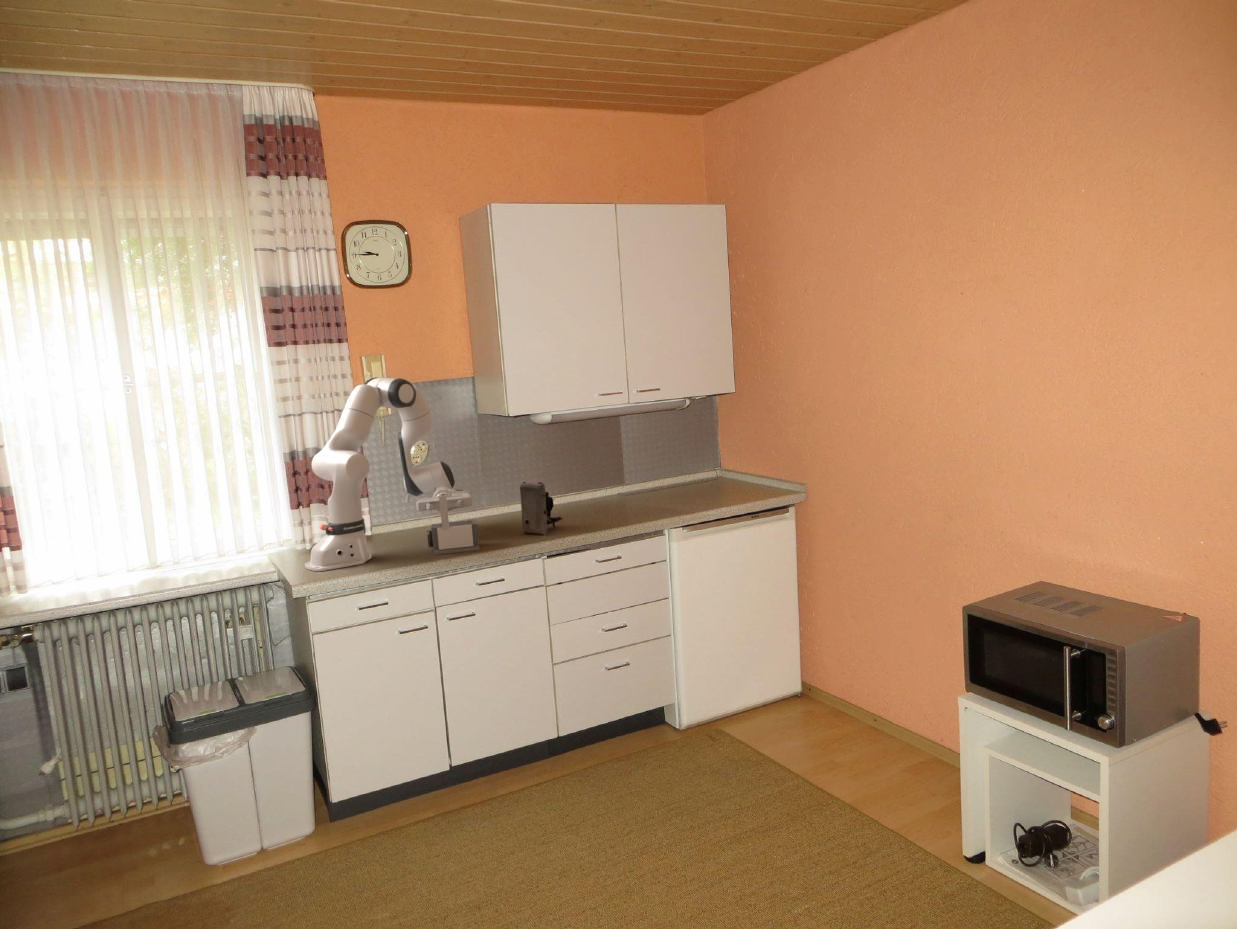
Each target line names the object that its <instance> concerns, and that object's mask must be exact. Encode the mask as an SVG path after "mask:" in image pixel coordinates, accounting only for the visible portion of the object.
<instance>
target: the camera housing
mask: <svg viewBox="0 0 1237 929" xmlns="http://www.w3.org/2000/svg"><path fill="white" fill-rule="evenodd" d="M462 525H472V535H473V546H469V547H460V548H450V549H441V550H439V544H438V533H437V528H442V523H431V528H430V529H431V530H427V531H426V533H427V542H428V543H427V544H428V548H433V551H432V552H433V555H434V556H435V555H443V554H444V555H445V554H452V553H453V554H454V553H460V552H461V553H462V552H471V551H480V541H479V540H480V539H479V529H478V520H477V519H471V518H466V519H464V520H460V521H449V527H452V526H462Z"/></svg>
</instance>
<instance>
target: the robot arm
mask: <svg viewBox="0 0 1237 929" xmlns="http://www.w3.org/2000/svg"><path fill="white" fill-rule="evenodd" d="M380 408H385V409H397V410H398V414H399V417H400V421H401V426H402V427H401V431H400V432H399V433H398V434H397V442H398V449H399V456H400V460H401V461H400V462H401V466H402V471H403V487H404V489H405V491H406V493H407V494H409V495H411V496H414V497H418V496H421V495H423V494H425V493H428V492H431V491H433V492H432V497H425V498H420V499H417V501H415V505H416V511H417V512H424V511H425V512H427V511H434V510H435V511H438V512H440V502H439V496H443V495H446V498H447V508H448V512H450V511H454V510H457V509H462V508H467V507H471V506H473V501H472V495H471V494H470V493H469V492H467V491H468V490H466V489H454V486H455V484H456V482H455V477H454V474H453V472H452V470H451V467H450V466H449V465H448V464H447V463H446V462H444V461H442V460H440V461H436V462H433V463H431V464H428V465H424V466H421V467H418V468H414V467H413V461H412V460H413V459H412V453H411V451H412V448H414V446H415V444H417V443H418V442H420V440H422V439H423V438H424V437H426V436H427V435H428V434H429V432H430V431H431V429H432V426H433V423H434V422H433V417H432V413H431V410H430V408H429V405H428V403H427V400H426V398H425V396H424V394H423V392H422V391H421V390H420V388H419V387H418V386H415V385H413V384H412V383H411V382H410V381H408V380H407V379H405V378H395V377H390V376H389V377H388V376H384V377H383V376H382V377H376V376H375V377H371V378H369V379H367V380H366V381H364V383H361V384H359V385H356V386H355V387H354V388H353V390H352V392H351V394H350V395H349V397H348V398H347V401H346V403H345V406H344V407H343V410H342V413H341V416H340V418H339V421H338V423H337V426H336V428H335V430H334V432H332V433H333V434H331V437H330V438H329V439H328V441H327V442H326V443H325V445H324V447H322V449H320V450H319V452H317V453H316V454H314V457H313V458H312V460H311V470H312V472H313V473H314V474H315V475H316V476H317V477H318V478H320V479H322V480H324V481H328V482H330V481H331V482H333V484H332V485H333V486H332V492H331V495H330V496H329V498H328V499H327V507H328V508H327V510H328V516H329V522H328V523H327V524H320V526H319V528H320V530H321V531H325V535H323V536H322V538H320V540H318V541H317V543H316V544H315V545H313V546H312V549H311V551H310V561H308V562H305V563H304V568H305V569H306V570H309V571H315V572H323V571H331V570H335V569H340V568H347V567H352V566H356V565H357V566H358V565H363V564H365V563H366V562H367V561H368V560H370V559H372V558H373V557H372V556H373V555H372V554H371V552H370V549H369V546H368V542H367V538H366V524H365V518H363V511H362V510H363V507H362V490H363V484H364V481H365V479H366V478H367V477H368V475H369V473H370V469H371V468H370V467H371V466H370V461H369V459H368V458H367V457H366V456H365V455H364V454H363V453H359V452H357V451H358V449H360V447H361V446H363V445H364V444H365V443H366V442H367V440H368V439H369V436H370V433H371V431H372V427H373V425H374V422H375V420H376V417H377V413H378V410H379V409H380Z"/></svg>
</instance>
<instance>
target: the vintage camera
mask: <svg viewBox="0 0 1237 929" xmlns="http://www.w3.org/2000/svg"><path fill="white" fill-rule="evenodd" d="M519 491H520V506H521V507H520V508H521V521H522V523H521V524H522V533H523V534H525V535H535V536H536V535H538V536H546V535H547V534H548V526H549V525H552V527H553V528H556V526H555V525H556V524H555V523H557V522H560V521H561V520H565V518H564V517H562V516H561V515H559V516H554V517H551V516H552V515H551V514H552V510H553V508H554V500H555V498H553V497H551V496H549V492H548V491H546V486H545V484H544V482H541V481H539V482H536V483H534V482H526V481H522V483H520V486H519Z"/></svg>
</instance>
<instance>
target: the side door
mask: <svg viewBox="0 0 1237 929" xmlns="http://www.w3.org/2000/svg"><path fill="white" fill-rule="evenodd" d="M439 502H440V511H439V512H440V520H441V523H442V528H437V533H438V544H439V550H441V549H450V548H460V547H469V546H473V535H472V525H462V526H452V527H449V522H450V519H449V511H448V508H447V498H446V495H443V496H439Z"/></svg>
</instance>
